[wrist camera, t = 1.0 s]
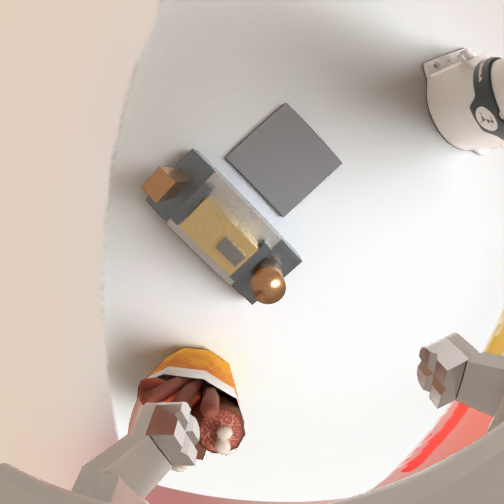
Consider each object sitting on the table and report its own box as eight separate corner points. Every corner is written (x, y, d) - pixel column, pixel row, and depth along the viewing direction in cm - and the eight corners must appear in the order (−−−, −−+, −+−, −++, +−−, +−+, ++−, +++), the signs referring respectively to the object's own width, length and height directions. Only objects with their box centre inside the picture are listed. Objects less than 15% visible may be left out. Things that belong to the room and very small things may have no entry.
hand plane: (153, 197, 37) (122, 206, 28) (197, 150, 36) (178, 142, 26) (252, 295, 41) (251, 331, 32) (298, 254, 39) (312, 280, 30)
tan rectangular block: (187, 220, 35) (177, 227, 30) (212, 195, 34) (205, 198, 29) (232, 265, 36) (229, 278, 32) (258, 241, 35) (258, 251, 31)
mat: (285, 104, 34) (286, 102, 33) (341, 163, 36) (342, 163, 35) (226, 157, 36) (225, 157, 35) (283, 216, 38) (283, 217, 37)
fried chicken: (240, 412, 48) (235, 498, 29) (156, 398, 48) (127, 477, 28) (254, 327, 43) (254, 427, 23) (151, 312, 42) (96, 395, 23)
